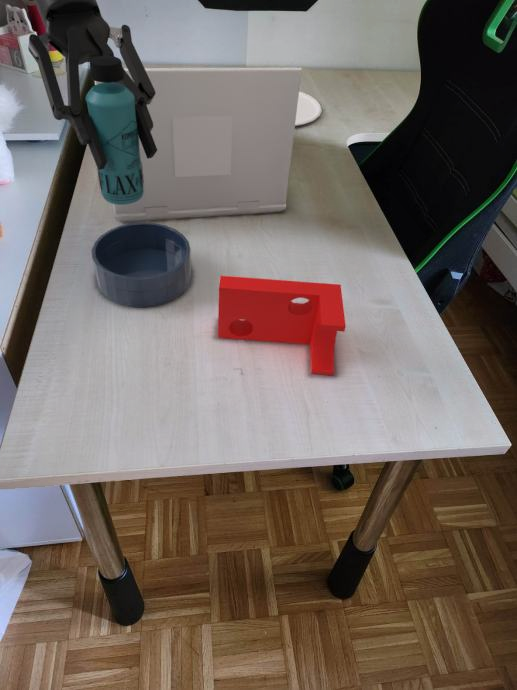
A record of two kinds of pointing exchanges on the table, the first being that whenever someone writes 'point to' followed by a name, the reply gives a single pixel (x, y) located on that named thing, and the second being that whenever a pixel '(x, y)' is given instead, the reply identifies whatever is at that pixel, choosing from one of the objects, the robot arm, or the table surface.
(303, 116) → the plate
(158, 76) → the laptop
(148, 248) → the bowl
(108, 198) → the beverage bottle
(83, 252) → the table surface
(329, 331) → the bracket
